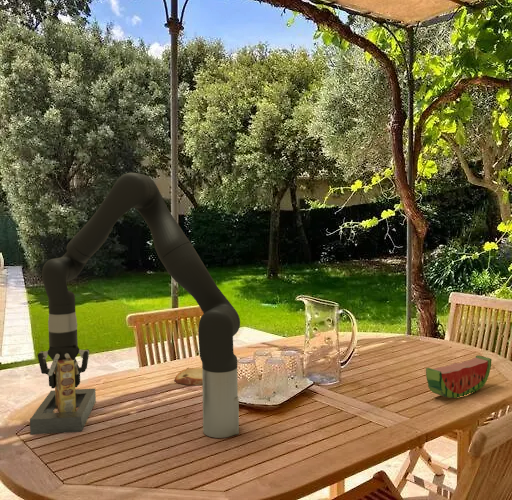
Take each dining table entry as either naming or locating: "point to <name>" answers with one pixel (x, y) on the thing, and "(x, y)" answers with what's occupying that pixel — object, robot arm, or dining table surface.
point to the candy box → (65, 386)
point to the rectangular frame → (63, 414)
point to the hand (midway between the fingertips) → (65, 386)
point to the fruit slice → (459, 377)
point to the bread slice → (190, 377)
